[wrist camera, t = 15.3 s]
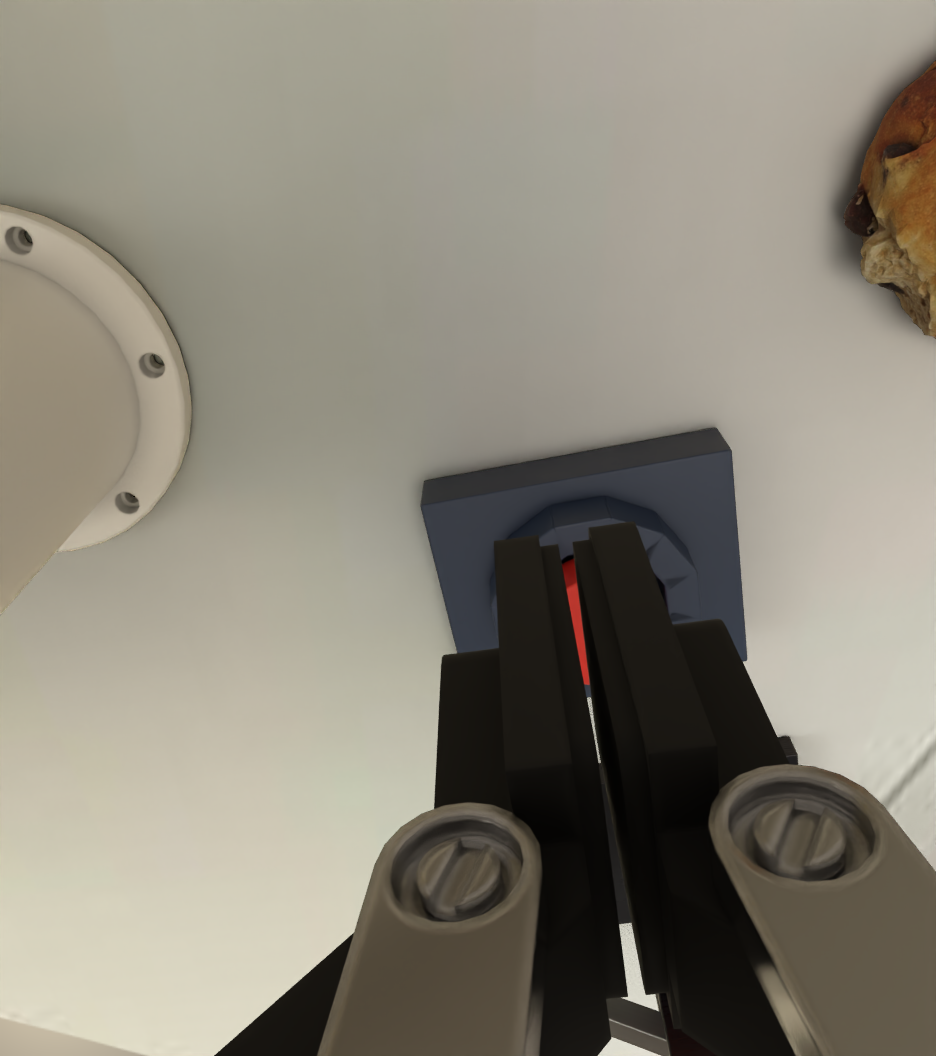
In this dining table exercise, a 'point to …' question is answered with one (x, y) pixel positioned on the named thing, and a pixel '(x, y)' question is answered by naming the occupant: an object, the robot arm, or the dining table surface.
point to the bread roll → (902, 203)
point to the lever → (637, 1025)
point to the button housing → (588, 501)
